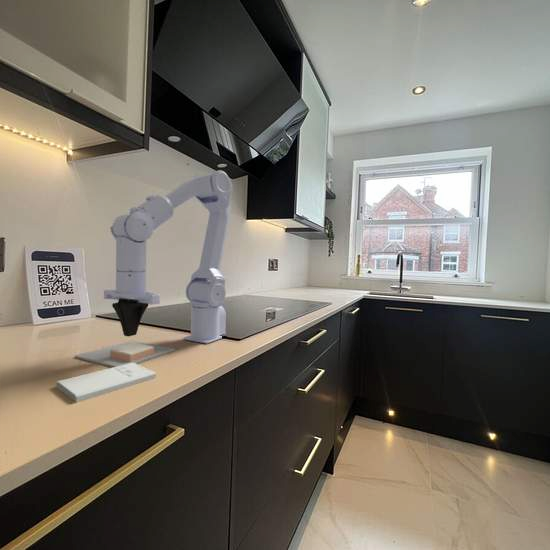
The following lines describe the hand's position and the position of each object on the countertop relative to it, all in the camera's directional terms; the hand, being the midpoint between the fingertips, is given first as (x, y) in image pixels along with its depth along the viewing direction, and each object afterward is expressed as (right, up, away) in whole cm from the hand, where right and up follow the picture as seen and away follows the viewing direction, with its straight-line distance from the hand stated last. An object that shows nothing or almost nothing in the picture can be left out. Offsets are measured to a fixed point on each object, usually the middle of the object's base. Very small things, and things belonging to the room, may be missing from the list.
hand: (130, 335), depth 63 cm
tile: (-2, -3, +1) cm, 4 cm away
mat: (-2, -5, +2) cm, 5 cm away
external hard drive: (+3, -6, -13) cm, 15 cm away
